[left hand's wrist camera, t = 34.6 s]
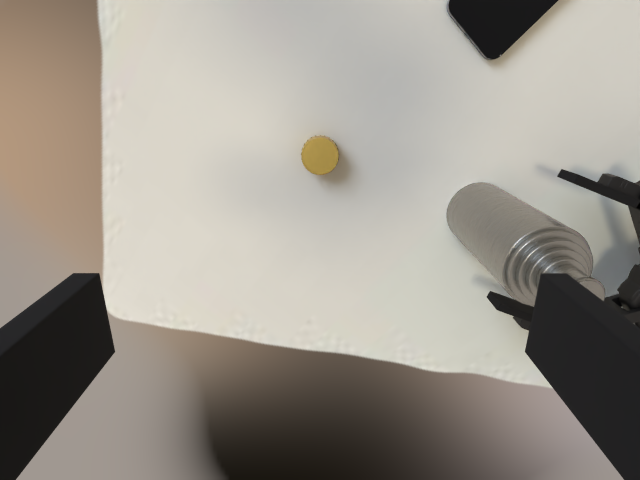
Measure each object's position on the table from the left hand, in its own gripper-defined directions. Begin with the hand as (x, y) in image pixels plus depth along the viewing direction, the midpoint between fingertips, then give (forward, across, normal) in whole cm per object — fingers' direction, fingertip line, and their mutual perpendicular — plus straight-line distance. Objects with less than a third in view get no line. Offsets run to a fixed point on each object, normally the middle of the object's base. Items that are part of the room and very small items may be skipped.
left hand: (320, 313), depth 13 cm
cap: (+31, 0, 0) cm, 31 cm away
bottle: (+33, +17, -6) cm, 38 cm away
